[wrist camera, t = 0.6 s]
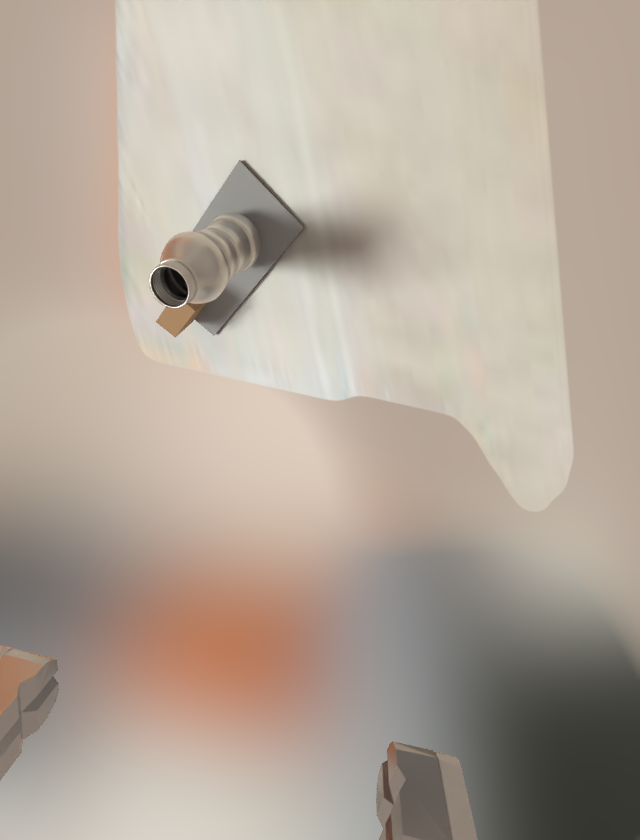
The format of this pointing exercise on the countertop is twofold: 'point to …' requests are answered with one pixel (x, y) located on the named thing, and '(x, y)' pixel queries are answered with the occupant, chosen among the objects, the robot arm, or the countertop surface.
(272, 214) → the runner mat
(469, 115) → the countertop surface
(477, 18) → the countertop surface
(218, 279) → the plastic bottle
